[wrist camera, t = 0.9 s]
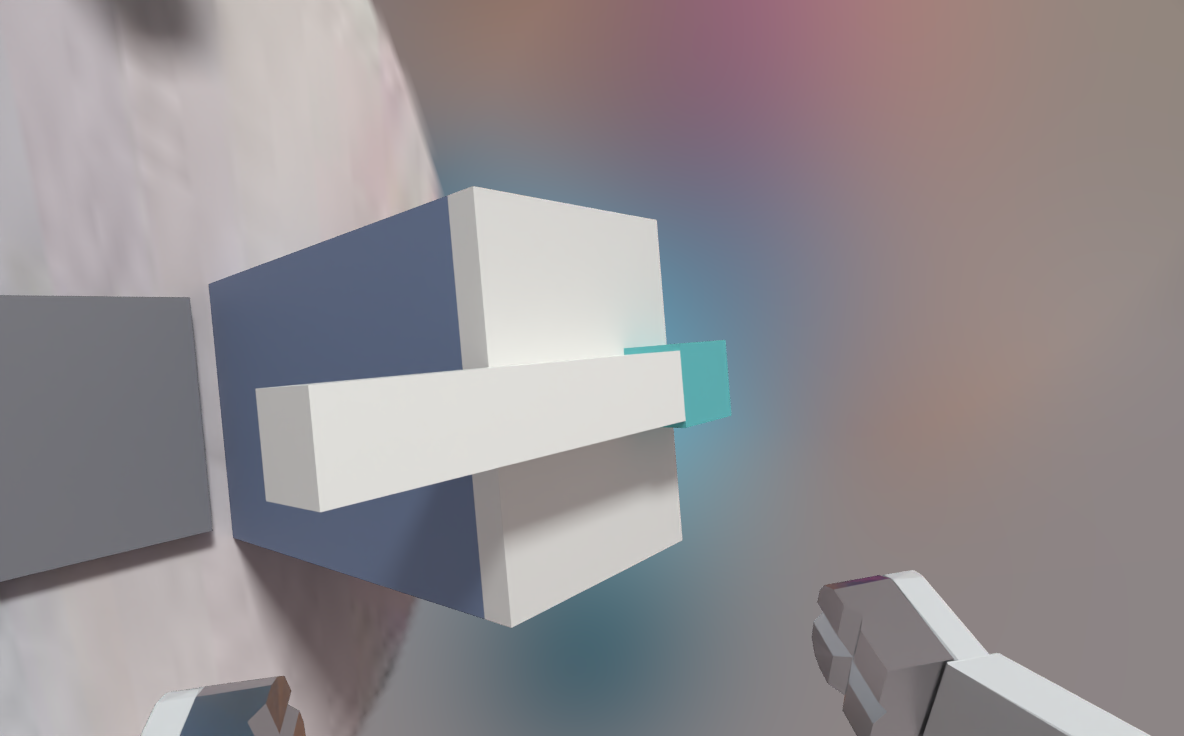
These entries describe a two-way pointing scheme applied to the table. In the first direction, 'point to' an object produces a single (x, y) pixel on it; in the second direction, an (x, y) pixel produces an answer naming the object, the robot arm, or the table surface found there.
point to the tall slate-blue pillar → (446, 343)
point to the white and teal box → (473, 419)
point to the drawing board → (97, 429)
